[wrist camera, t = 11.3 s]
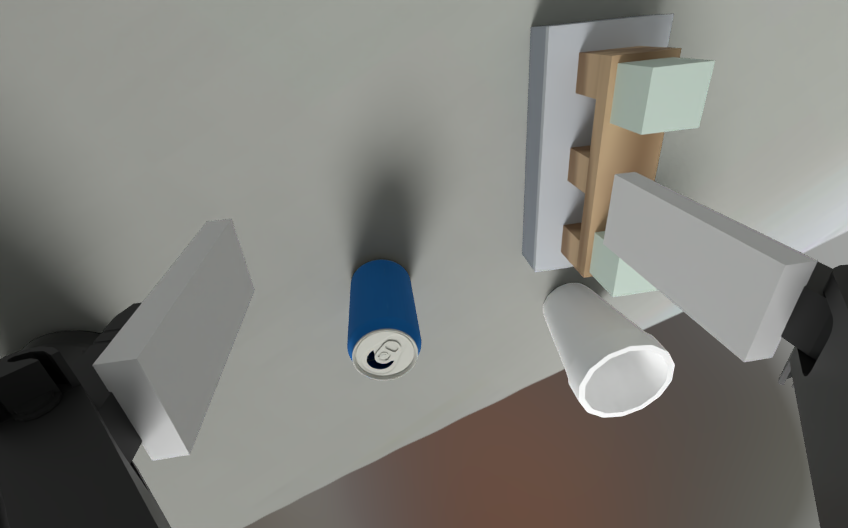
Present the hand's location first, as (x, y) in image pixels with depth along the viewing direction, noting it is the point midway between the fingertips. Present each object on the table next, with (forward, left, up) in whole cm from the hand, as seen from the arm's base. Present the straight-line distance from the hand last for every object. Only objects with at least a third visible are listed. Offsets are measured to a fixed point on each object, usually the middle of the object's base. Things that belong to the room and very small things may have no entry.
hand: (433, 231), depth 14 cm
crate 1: (+18, -12, -17) cm, 27 cm away
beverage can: (-4, -18, -26) cm, 32 cm away
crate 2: (+18, +1, -17) cm, 24 cm away
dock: (+17, -6, -26) cm, 32 cm away
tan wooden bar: (+18, -6, -22) cm, 29 cm away
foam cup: (+18, -25, -26) cm, 40 cm away
